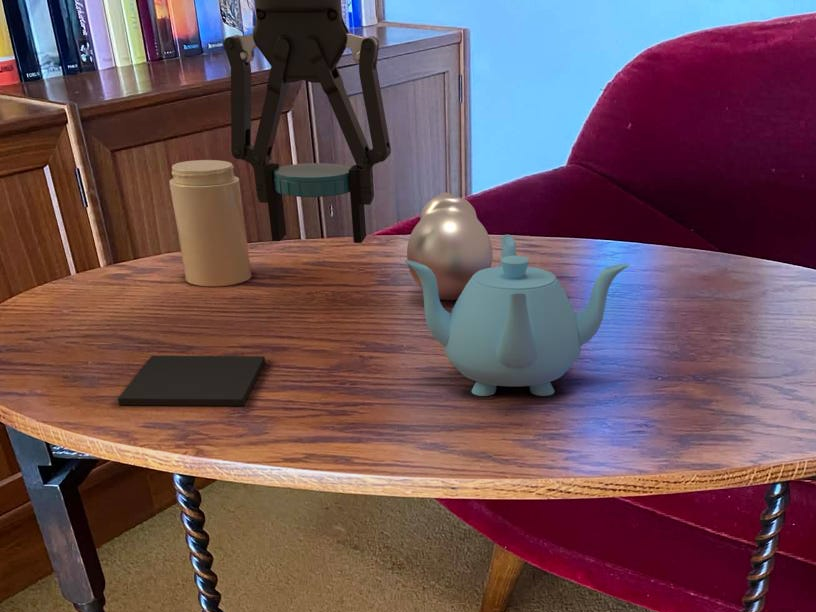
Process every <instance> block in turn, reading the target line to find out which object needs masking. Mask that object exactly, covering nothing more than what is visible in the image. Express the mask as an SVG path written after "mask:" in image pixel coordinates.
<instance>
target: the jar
mask: <svg viewBox="0 0 816 612" xmlns="http://www.w3.org/2000/svg"><path fill="white" fill-rule="evenodd" d="M234 169H235V165H233V163H232V162H230V161H226V160H219V159H218V160H217V159H200V160H198V159H197V160H186V161H180V162H177V163H174V164H172V165H171V175H172V178H171V179H170V180H169V182H168V184H169V189H170V195H171V200H172V206H173V212H174V213H173V214H174V218H175V225H176V231H177V237H178V243H179V249H180V255H181V256H180V257H181V262H182V266H183V273H184V279H185V282H187V283H188V284H191V285H195V286H199V287H227V286H232V285H233V286H234V285H238V284H243V283H244V282H247V281H249V280H250V279H251V278H252V269H251V268H252V267H251V261H250V254H249V252H250V251H249V245H248V237H247V229H246V221H245V214H244V207H243V206H244V205H243V197H242V191H241V183H240V181H241V180H240V178H239V177H238V176H236V175H235V174H234Z"/></svg>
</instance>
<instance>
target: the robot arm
mask: <svg viewBox="0 0 816 612" xmlns="http://www.w3.org/2000/svg"><path fill="white" fill-rule="evenodd" d="M253 2H254V10H255V22H254V27H253V30H252V32H251V33H247V34H243V35H240V34H234V35H231V36H228V37H226V38H225V39H224V41H223V47H224V50H225V54H226V57H227V60H228V64H229V66H230V139H231V140H230V143H231V144H230V147H231V148H230V149H231V156H232V157H233V158H234V159H236V160H242V161H244V162H247V163H248V164H250V165H251V166H252V168H253V174H254V182H255V191H256V197H257V199H258V202H259V203H263V204H266V203H267V208H268V209H267V210H268V216H269V225H270V234H271V241H272V242H280V241H282V239H284V238H285V237H286V236H287V228H286V227H287V226H286V219H285V209H284V200H283V194H280V193H278V192H277V191H275V181H274V170H275V169H277V168H279V167H280V164H279V163H276V162H275V163H273V162H271V163H270V161H271V160H272V159H273V157H272V152H273V150H274V149H273V148H274V145H275V140H276V136H277V132H278V128H279V124H280V120H281V117H282V112H283V107H284V103H285V98H286V95H287V91H288V90H289V87H290V84H291V83H297V82H300V81H304V82H309V83H313V84H314V83H315V84H318V83H319V84H320V86H321V88H322V90H323V92H324V94H325V95H326V97H327V99H328V101H329V104H330V107H331V109H332V111H333V113H334V116H335V118H336V121H337V123H338V125H339V128H340V130H341V132H342V134H343V137H344V140H345V142H346V144H347V146H348V148H349V151H350V153H351V155H352V158H353V160H354V163H355V164H353V165H352V166H350V167H351V168H350V169H349V184H350V192H349V195H350V211H351V224H352V239H353V244H362V243H363V242H364V240H365V239H366V238H367V230H366V229H367V228H366V227H367V225H366V213H365V212H366V211H365V205H366V206H370V205H371V204H372V203H373V201H374V198H375V190H374V189H375V187H374V170H373V168H374V166H375V165H376V164H379V163H383V162H385V161H386V160H387V159H388V157H389V156H390V155H391V153H392V148H391V143H390V136H389V130H388V124H387V120H386V114H385V107H384V102H383V97H382V96H383V95H382V91H381V85H380V80H379V74H378V68H377V67H378V66H377V64H378V57H379V50H380V42H379V39H378V38H377V37H376V36H374V35H370V36H367V37H366V36H363V35H358V34H354V33H350V32H349V29H348V27H347V25H346V23H345V21H344V20H345V19H344V18H343V9H342V8H343V7H342V0H253ZM256 48H258V50H259V52H260V53H261V54H262V56H263V57H264V58H265V60H266V62H267V63H268V64H269V65H270V71H269V74H268V79H267V82H266V83H267V84H266V93H265V97H264V102H263V105H262V110H261V115H260V119H259V123H258V128H257V132H256V136H255V140H254V144H252V64H251V62H252V61H253V60H254V59H255V49H256ZM347 48H348V49H349V51H351V56H352V57H351V58H352V60H353V62H354V63H355V64H358V74H359V80H360V81H359V82H360V85H361V91H362V97H363V100H364V102H363V103H364V107H365V111H366V112H365V114H366V118H367V124H368V129H369V134H370V140H371V146H372V148H370V147H369V143H368V141H367V139H366V137H365V135H364V132H363V129H362V128H361V127H362V126H361V125H360V122H359V120H358V117H357V115H356V112H355V111H354V108H353V105H352V103H351V100H350V98H349V95H348V93H347V91H346V87H345V86H344V81H343V78H342V75H341V73H340V71H339V69H338V63H339V62H340V60H341V58H342V56H343V55H344V53H345V51H346V49H347Z"/></svg>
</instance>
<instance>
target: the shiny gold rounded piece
mask: <svg viewBox="0 0 816 612" xmlns="http://www.w3.org/2000/svg"><path fill="white" fill-rule="evenodd" d="M488 233H489V232H488V231H487V230H486V228H485V226H484V225H483V223H481V221H480V220H479V219H478V217H477V213H476V209H475V208H474V206H473V205H472V204H471V203H470V202H469V201H468V200H467V199H465V198H463V197H458V196H454V195H453V194H452V193H450V192H442V193H440V194H438V195H436V196H434V197H432V198H431V199H430V200H428V202H426V204H425V205H424V207H423V208H422V210H421V212H420V217H419V221H418V222H417V223H416V225H415V226H414V227H413V229H412V231H411V233H410V236H409V239H408V242H407V247H406V260H410V261H414V262H417V263H420V264H423V265H425V266H427V267H428V268H430V269H431V270H432V272H433V273H434V275H435V277H436V280H437V286H438V295H439V300H443V301H457V300H458V298H459V296H460V295H461V293H462V291H463V290H464V288H465V286H466V285H467V283H468V282H469V280H470V279H471V278H472V276H473V275H474V274H475V273H476V272H478V271H480V270H483V269H486V268H491V267H492V264H493V253H494V252H493V246H492V245H493V244H492V241H491V238H490V235H489V234H488ZM407 266H408V269H409V272H410V274H411V276H412V278H413V280H414V281H415V283H416V284H417V285H418V286H419V288H420V289H421V290H423V288H422V284H421V281H420V278H419V277H418V275H417V273H416V272H415V271H414V270H413V269H412V268H411V267H410V266H409V265H408V264H407Z"/></svg>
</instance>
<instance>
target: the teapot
mask: <svg viewBox="0 0 816 612" xmlns="http://www.w3.org/2000/svg"><path fill="white" fill-rule="evenodd" d="M515 241H516V240H515V238H514V237H513V236H512V235H511V234H504V235H503V236H502V238H501V255H500V256H501V257H500V259H499V260H500V262H499V263H500V264H499V266H491V268H486V269H483V270H480V271H478V272H476V273H475V274H474V275H473V276H472V278H471V279H470V280H469V282H468V283H467V285H466V286H465V288H464V290H463V291H462V293H461V295H460V296H459V298H458V300H456V301H455V303H454V305H453V308H452V310H451V312H448V311H447V310H446V309H445V308H444V306H443V305H442V303H441V299H439V295H438V286H437V280H436V277H435V275H434V273H433V272H432V270H431V269H430V268H428V267H427V266H425V265H423V264H420V263H417V262H414V261H410V260H407V259H404V262H405V263H406V264H407V266H408V265H409V266H410V267H411V268H412V269H413V270H414V271H415V272H416V273H417V275H418V277H419V278H420V281H421V284H422V288H423V289H422V288H421V289H422V294H423V311H424V319H425V323H426V326H427V328H428V331H429V333H430V334H431V335H432V337H433V338H434V340H436V341H437V342H438V343H440V344H441V345H442V346H443V347H444V352H445V355H446V357H447V359H448V360H449V361H450V363H451V364H452V365H453V366H454V367H455V369H456V370H457V372H459V373H460V374H461V375H462V376H463V377H465V378H467V379H470V380H472V381H474V385H473V387H472V389H471V394H473V395H475V396H479V397H488V396H489V397H490V396H492V395H495V394H496V392H497V388H498V387H497V386H499V387H528V388H529V391H530V393H531V395H535V396H540V397H546V396H551V395H554V393H555V389H554V387H553V385H552V383H551V382H553V381H556V380H558V379H560V378H561V377H563V376H565V373H567V372H568V371H569V370H570V369H571V368H572V367H573V365H574V364H575V363H576V362H577V361H578V359H579V357H580V355H581V351H582V350H581V349H582V347H583V345H585V344H586V343H588V342H589V341H590V340H591V339H592V338H593V337H595V336H596V334H597V333H598V331H599V329H600V327H601V324H602V322H603V318H604V314H605V310H606V309H605V308H606V303H607V297H608V293H609V290H610V287H611V285H612V282H613V281H614V280H615V278H616V277H617V276H618V275H619V274H620V273H621V272H622V271H623V270H625V269H626V268H627V267H629V263H619V264H614V265H611V266H608V267H606V268H604V269H602V270H601V271H600V273H598V275H597V276H596V278H595V281H594V283H593V287H592V290H591V293H590V298H589V300H588V302H587V304H586V305H585V307H583V308H582V309H581V310H580V311H578V312H577V313H576V312H575V309H574V307H573V305H572V303H571V301H570V299H569V297H568V295H567V293H566V291H565V289H564V287H563V286H562V284H561V283H560V281H559V279H558V278H557V277H556V276H555V274H554V273H552V272H551V271H549V270H546V269H543V268H538V267H533V266H529V263H530V258H528V257H526V256H522V255H517V247H516V242H515ZM409 266H408V267H409Z"/></svg>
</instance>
